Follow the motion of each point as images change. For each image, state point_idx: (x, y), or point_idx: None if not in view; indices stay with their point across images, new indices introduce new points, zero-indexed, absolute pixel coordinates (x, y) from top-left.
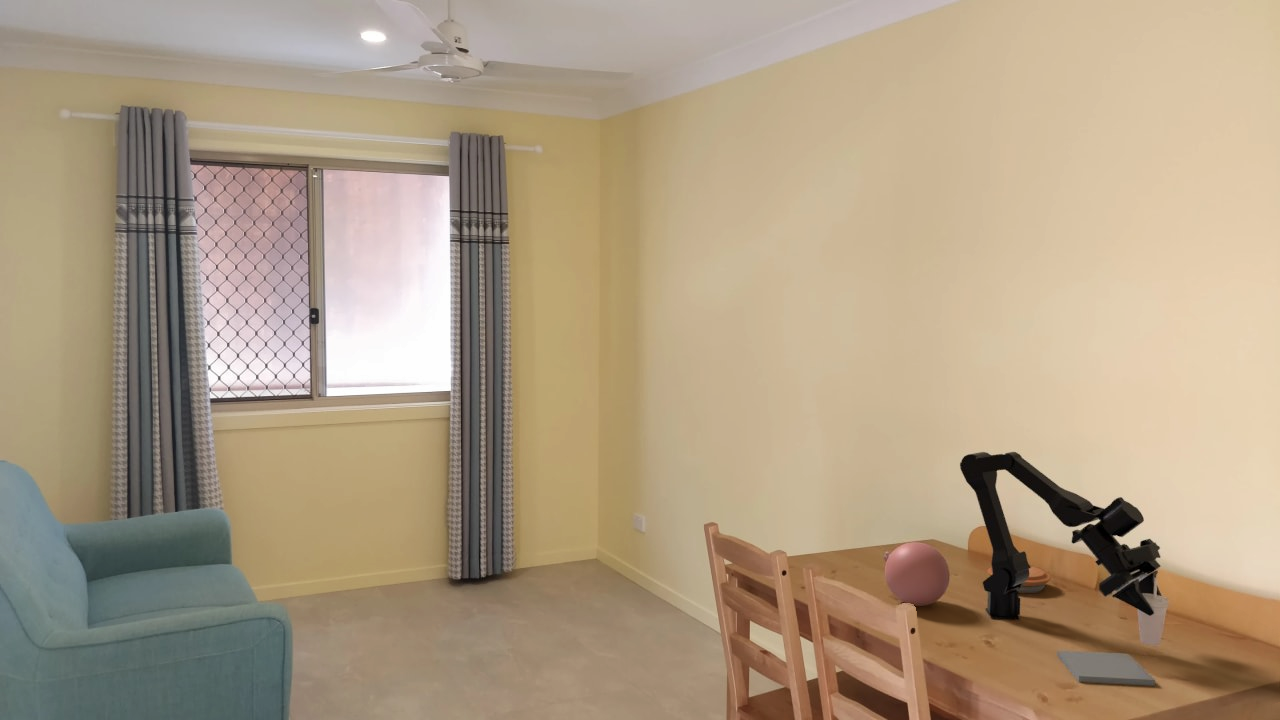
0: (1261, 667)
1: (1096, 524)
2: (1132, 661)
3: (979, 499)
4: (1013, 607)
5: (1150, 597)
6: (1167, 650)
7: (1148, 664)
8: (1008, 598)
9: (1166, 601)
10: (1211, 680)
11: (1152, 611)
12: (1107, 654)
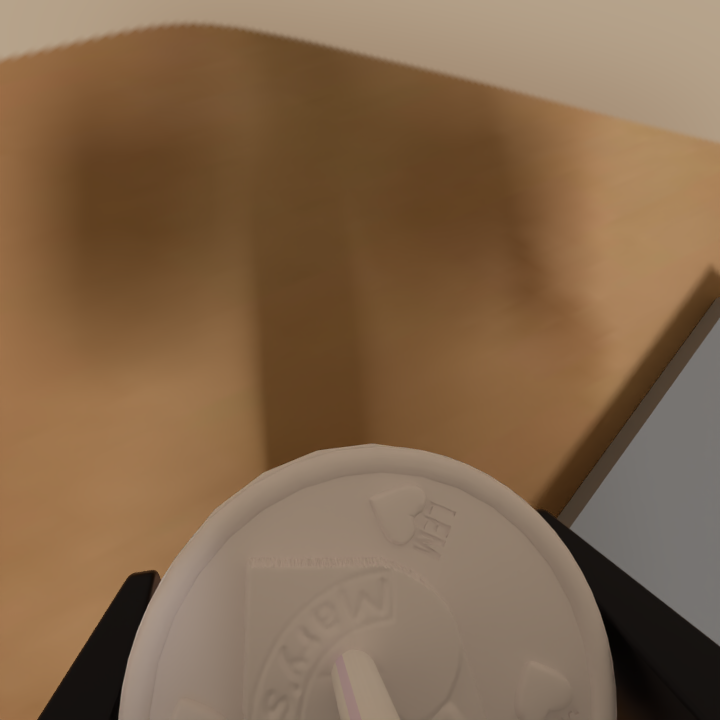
0: (18, 89)
1: None
2: (623, 487)
3: None
4: None
5: (437, 706)
6: (164, 522)
7: (489, 461)
8: None
9: (378, 457)
10: (430, 175)
11: (556, 520)
12: None
